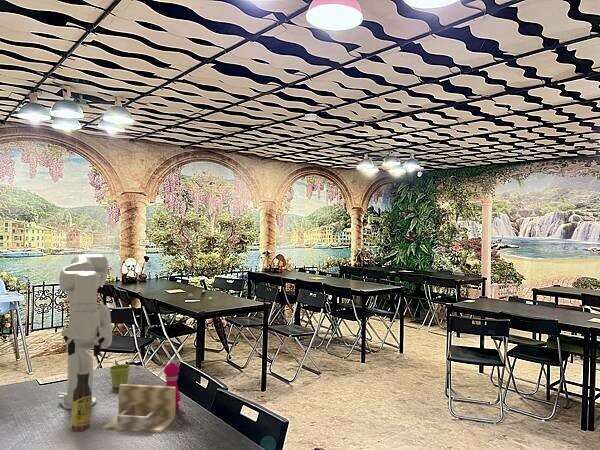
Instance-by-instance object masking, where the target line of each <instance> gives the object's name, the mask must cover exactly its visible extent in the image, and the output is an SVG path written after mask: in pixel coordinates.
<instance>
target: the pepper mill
mask: <svg viewBox="0 0 600 450" xmlns="http://www.w3.org/2000/svg"><path fill="white" fill-rule="evenodd" d="M179 372H180V366H179V365H178V363H176V362H175V360H174V359H170V360H169V363H167V364H166V365H165V366H164V369H163V373H164V374H165V376H164V377H165V379H164V380H165V381H166V382H165V386H170V387H176V394H175V412H177V411H178V410H179V409H180V404H179V402H180V401H181V393H180V391H179V388H178V379H179V375H178V374H179Z"/></svg>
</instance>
